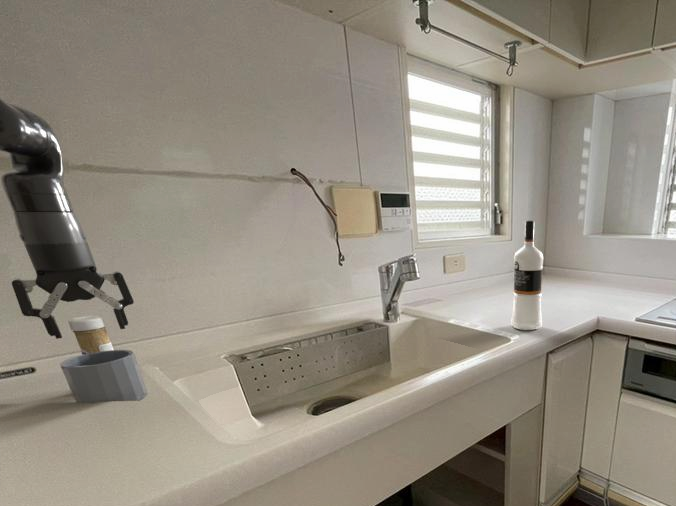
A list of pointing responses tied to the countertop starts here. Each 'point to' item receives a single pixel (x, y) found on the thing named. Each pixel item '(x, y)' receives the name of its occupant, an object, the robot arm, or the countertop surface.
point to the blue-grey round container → (104, 377)
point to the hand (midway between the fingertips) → (92, 332)
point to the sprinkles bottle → (91, 334)
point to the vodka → (527, 283)
